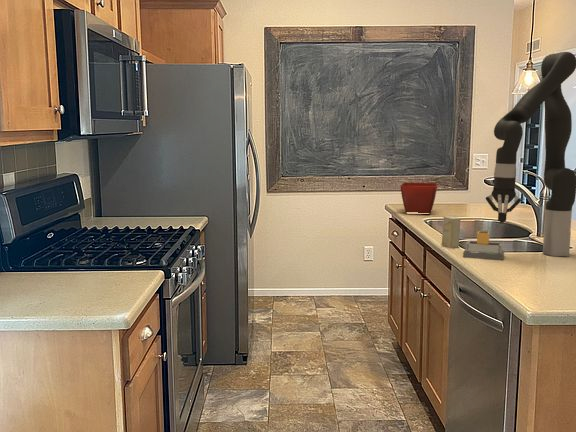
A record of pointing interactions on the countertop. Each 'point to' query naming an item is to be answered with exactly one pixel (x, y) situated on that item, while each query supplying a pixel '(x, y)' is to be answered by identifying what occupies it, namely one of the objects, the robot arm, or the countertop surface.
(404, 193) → the plant pot
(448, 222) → the skincare box
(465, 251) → the grey tray
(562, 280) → the countertop surface
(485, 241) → the toggle
